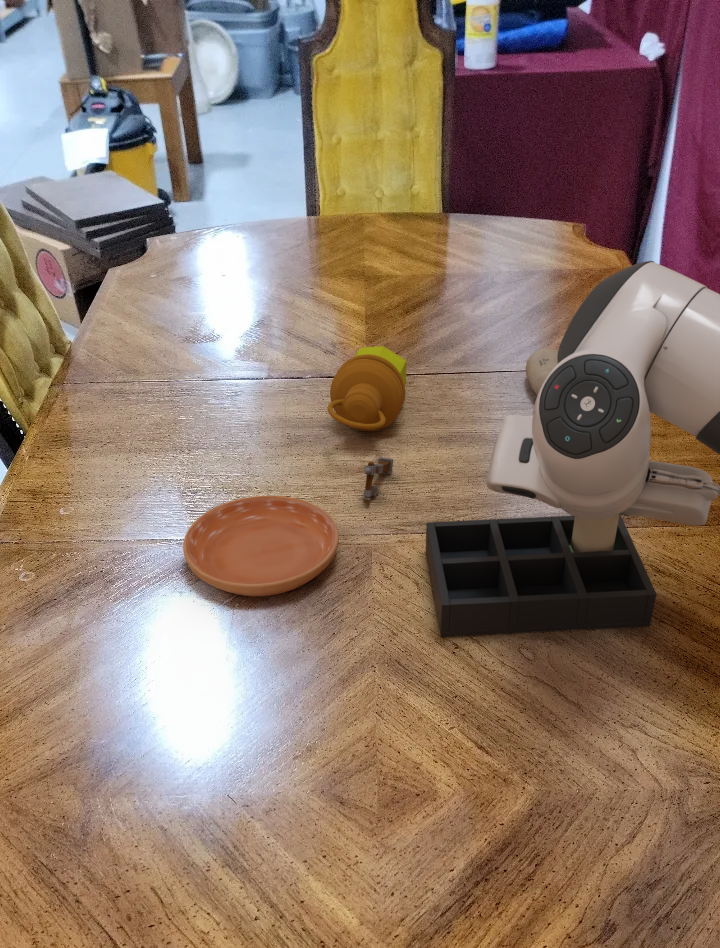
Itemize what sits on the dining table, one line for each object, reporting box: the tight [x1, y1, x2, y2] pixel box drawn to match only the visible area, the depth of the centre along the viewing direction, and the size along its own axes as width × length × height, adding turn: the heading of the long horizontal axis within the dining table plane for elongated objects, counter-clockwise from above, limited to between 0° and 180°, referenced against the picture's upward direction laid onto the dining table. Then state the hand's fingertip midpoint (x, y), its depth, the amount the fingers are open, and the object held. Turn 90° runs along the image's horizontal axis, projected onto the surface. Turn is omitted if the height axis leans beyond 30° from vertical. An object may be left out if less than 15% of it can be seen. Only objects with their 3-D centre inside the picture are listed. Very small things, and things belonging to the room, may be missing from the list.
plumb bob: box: [327, 345, 407, 432], centre depth 123 cm, size 9×9×25 cm
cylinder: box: [571, 514, 619, 552], centre depth 97 cm, size 4×4×9 cm
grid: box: [425, 515, 658, 638], centre depth 98 cm, size 20×14×4 cm
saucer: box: [182, 495, 340, 597], centre depth 103 cm, size 16×16×3 cm
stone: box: [525, 347, 558, 396], centre depth 129 cm, size 6×6×12 cm
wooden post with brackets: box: [363, 456, 394, 504], centre depth 113 cm, size 2×8×4 cm, turn 163°
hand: (599, 503), depth 97 cm, fingers closed on cylinder, 4 cm apart
